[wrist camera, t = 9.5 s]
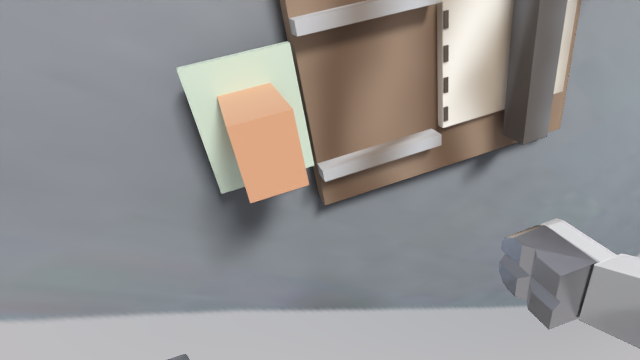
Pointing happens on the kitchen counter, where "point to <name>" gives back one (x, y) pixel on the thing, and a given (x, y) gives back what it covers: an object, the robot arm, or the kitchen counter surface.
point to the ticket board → (424, 82)
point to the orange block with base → (251, 120)
